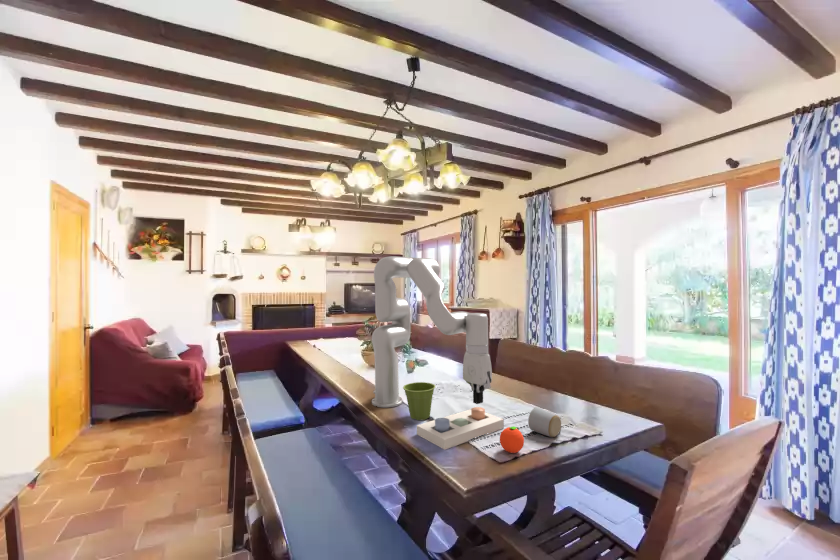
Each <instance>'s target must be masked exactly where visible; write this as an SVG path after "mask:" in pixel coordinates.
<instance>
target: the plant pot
mask: <svg viewBox="0 0 840 560" xmlns="http://www.w3.org/2000/svg"><path fill="white" fill-rule="evenodd" d="M435 388H436V384H433V383H430V382H424V381H423V382H422V381H420V382H419V381H417V382H411V383H407V384H405V385H403V387H402V389H403V390H404V393H405V396H406V401H407V402H406V403H407V406H408V411H409V417H410V418H411V419H412V420H417V421H424V420H427V419H428V418H430V416H431V412H432V411H431V410H432V403H433V402H432V401H433V395H434V390H435Z"/></svg>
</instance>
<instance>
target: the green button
mask: <svg viewBox="0 0 840 560" xmlns="http://www.w3.org/2000/svg"><path fill="white" fill-rule="evenodd" d="M454 424H455V425H457V426H460V427H462V426H465V425H468V420H467V419H464V418H457V419H455V420H454Z"/></svg>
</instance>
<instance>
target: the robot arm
mask: <svg viewBox="0 0 840 560" xmlns="http://www.w3.org/2000/svg"><path fill="white" fill-rule="evenodd" d="M440 269H441V268H440V265H439V263H438V262H437V261H436V260H435V259H433V258H426V257H409V256H396V255H393V256H391V255H390V256H385V257H382V258H381V259H379V260H378V261H377V262H376V264H375V267H374V269H373V280H374V289H375V292H374V293H375V294H374V295H375V296H374V298H375V302H374V303H375V307H374V309H375V316H376V319H377V320H378V321H379V322H381V323H390V322H391V323H390V324H386V325H381V326H378V327H376V328H375V329H374V330H373V332H372V335H371V344H372V346H373V353H374V382H375V383H374V385H375V386H374V388H375V389H374V390H373V391H372V392H373V394H374V398H372V400H371V405H373V406H374V407H376V406H377V407H378V408H386V409H387V408H394V407H397V406H400V405H402V404H403V402H404V399H403V398H402V397H400V395H399V394H400V393H399V389H400V386H399V357H398V354H397V352H396V350H395V348H397V347H401V346H404V345H406V344H408V342H409V341H410V338H411V307H410V305H409V302H408V301H407V300H406V299H404V298H403V297H397V287H396V284H395V282H394V278H401V279H402V278H405V279H407V278H409V279H411V280H412V282H413V283H414V285H415V286H416V287H417V288H418V290H419V291H420V293H421V294H422V296H423V297H424V298H425V305H426V311H427V315H428V316H429V318H430V320H431V321H432V322H433V323H432V324H434V325H435V326H436V328H437V329H438V331H439V332H440V333H442V334H443V335H446V336H453V335H456V334H462V333H465V350H466V351H465V352H464V356H463V360H462V361H463V363H462V379H463V380H464V381H465V382H466V384H468V385H469V386H470V388H471V391H472V401H473V402H472V403H473V404H475V405H479V404H482V403H484V392H485V390H487V389H491V387H492V386H491V383H492V381H493V369H492V362H491V355H490V353H489V321H488V320H489V318H488V315H487V313H482V312H468V311H464V310H463V311H454V312H453V311H452V312H451V311H449V310H448V308H447V307H446V305H445V304H444V302H443V300H442V294H443V293H444V292H445V289H446V287H445V283H443V282H442V280H441V279H440V278H439V275H440Z"/></svg>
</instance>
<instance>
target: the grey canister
mask: <svg viewBox="0 0 840 560" xmlns="http://www.w3.org/2000/svg"><path fill="white" fill-rule="evenodd" d="M527 422H528V428H529V430H530V431H532V432H536V433H538V434H541V435H544V436H546V437H549V438H555V437H556V436H558V435H559V434H560V432H561V431H562V427H563V426H562V420H561V418H560V416H559V415H558V414H555V413H553V412H552V411H548V410H546V409H543V408H541V407H538V406H536V407H533V409H532V410H531V411H530V412H529V416H528V421H527Z"/></svg>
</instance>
